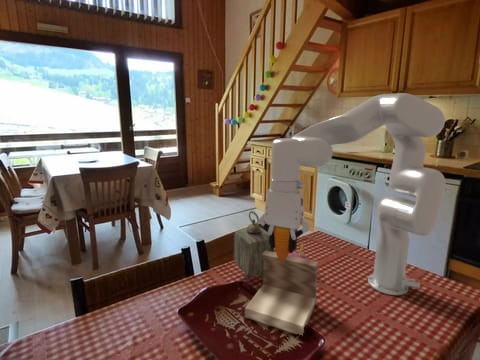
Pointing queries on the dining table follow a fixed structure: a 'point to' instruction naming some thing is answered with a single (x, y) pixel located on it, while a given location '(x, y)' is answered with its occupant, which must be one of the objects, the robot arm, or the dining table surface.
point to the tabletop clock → (251, 248)
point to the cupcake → (298, 254)
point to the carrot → (282, 242)
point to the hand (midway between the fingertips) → (282, 248)
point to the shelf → (285, 293)
